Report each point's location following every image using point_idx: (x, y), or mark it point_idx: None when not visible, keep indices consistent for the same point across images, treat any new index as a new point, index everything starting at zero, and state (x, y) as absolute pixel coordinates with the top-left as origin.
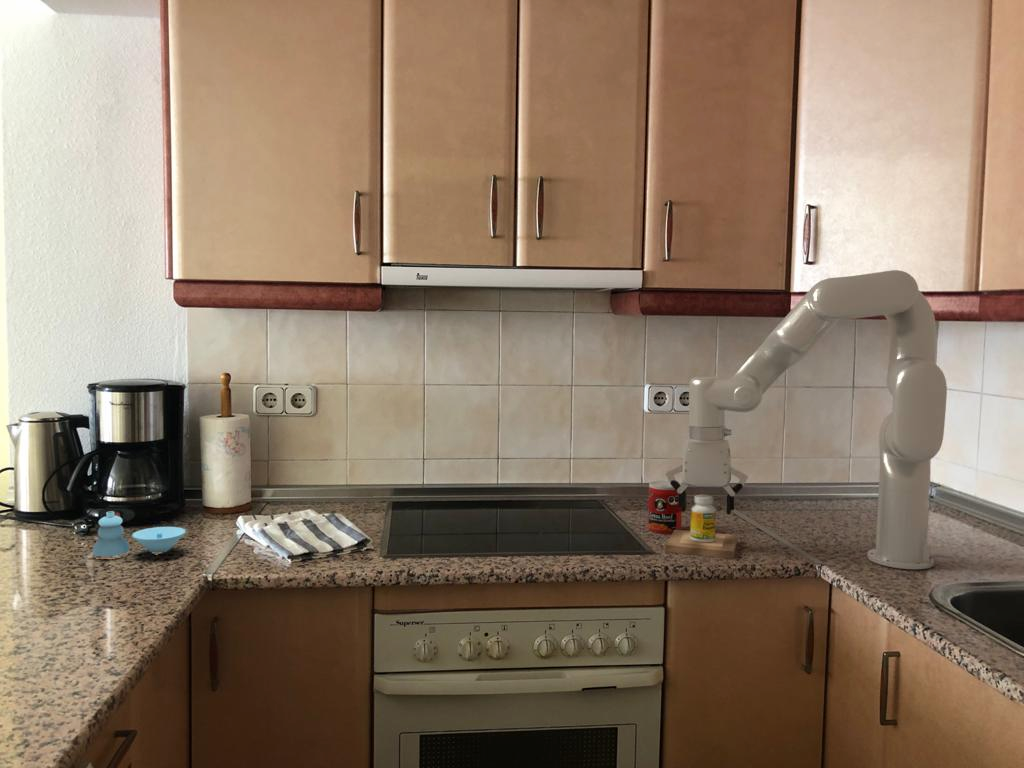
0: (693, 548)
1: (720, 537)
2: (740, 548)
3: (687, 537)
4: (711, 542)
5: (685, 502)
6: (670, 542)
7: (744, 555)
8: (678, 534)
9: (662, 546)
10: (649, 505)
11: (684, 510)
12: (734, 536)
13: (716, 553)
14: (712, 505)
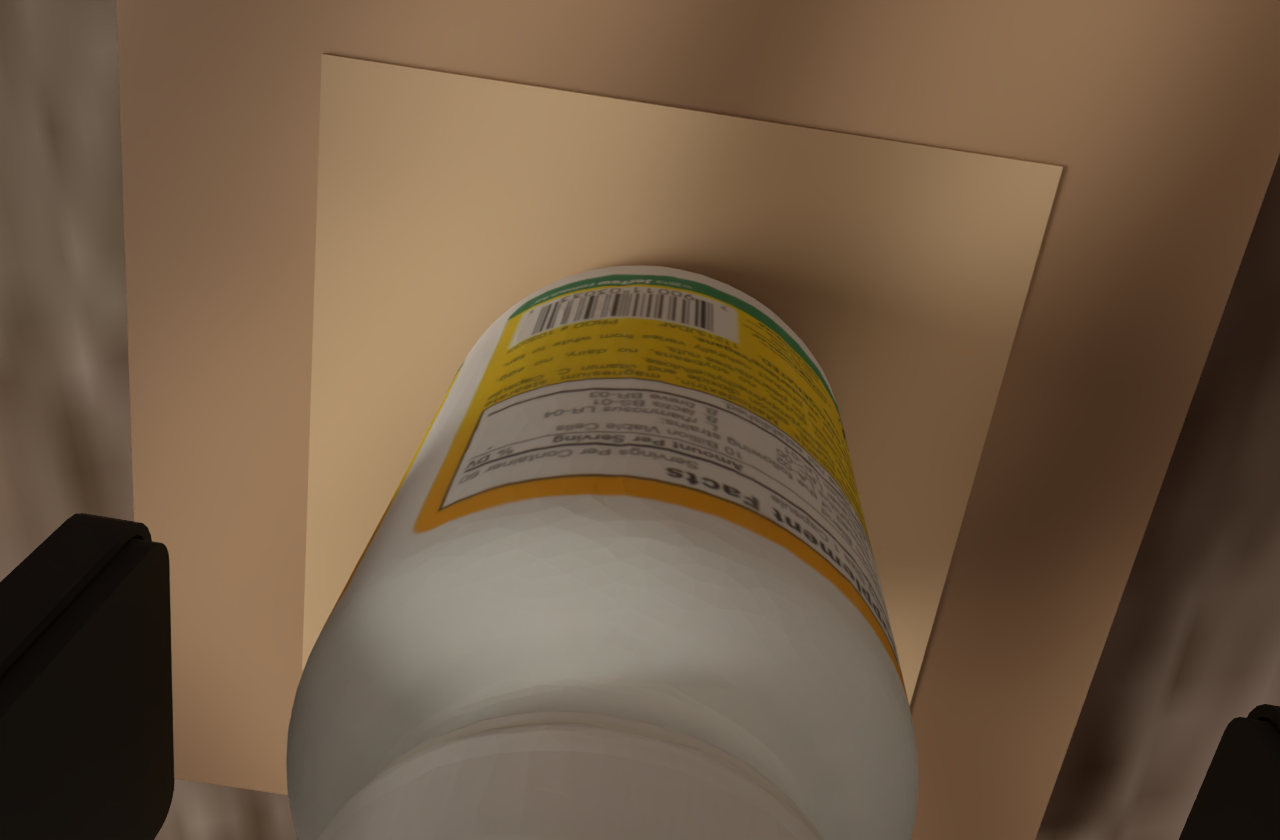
0: None
1: (959, 253)
2: (1217, 373)
3: (399, 362)
4: None
5: (72, 835)
6: (183, 650)
7: (1176, 690)
8: (233, 170)
9: (96, 478)
10: None
11: (157, 826)
12: (1245, 100)
13: None
14: (843, 817)
